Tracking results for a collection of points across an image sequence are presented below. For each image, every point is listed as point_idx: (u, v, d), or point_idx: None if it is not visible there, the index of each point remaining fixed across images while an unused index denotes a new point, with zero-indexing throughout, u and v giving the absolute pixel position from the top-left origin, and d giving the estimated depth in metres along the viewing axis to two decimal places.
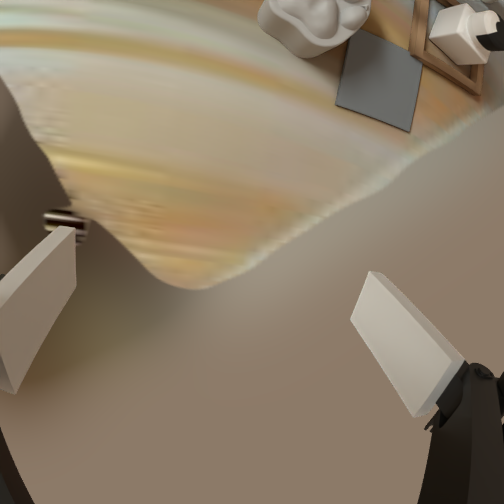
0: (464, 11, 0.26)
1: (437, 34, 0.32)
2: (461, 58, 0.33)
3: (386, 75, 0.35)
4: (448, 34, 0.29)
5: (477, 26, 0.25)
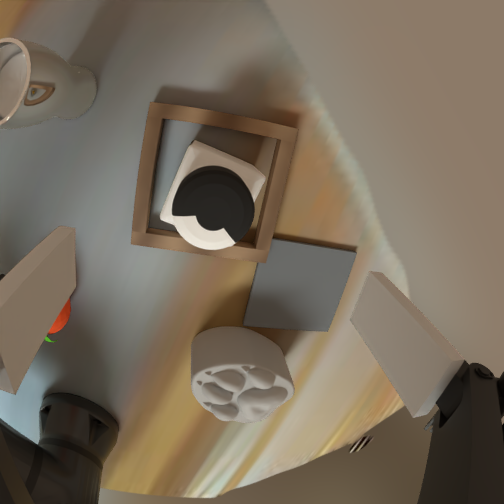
0: None
1: None
2: None
3: (295, 287, 0.39)
4: None
5: None
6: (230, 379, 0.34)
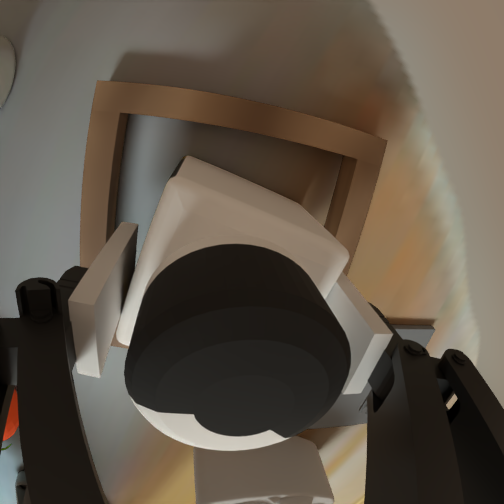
0: None
1: None
2: None
3: None
4: None
5: None
6: None
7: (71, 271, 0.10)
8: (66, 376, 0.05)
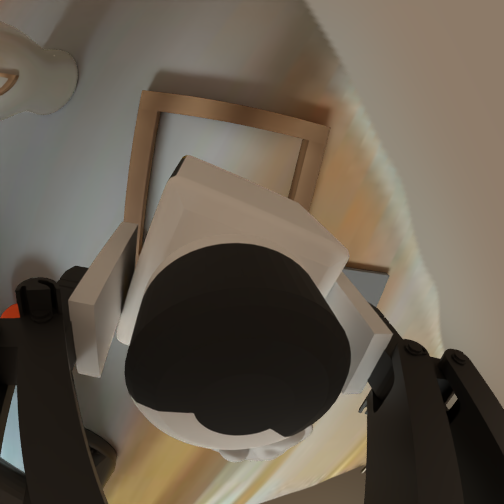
0: None
1: None
2: None
3: None
4: None
5: None
6: None
7: (70, 270, 0.10)
8: (66, 376, 0.05)
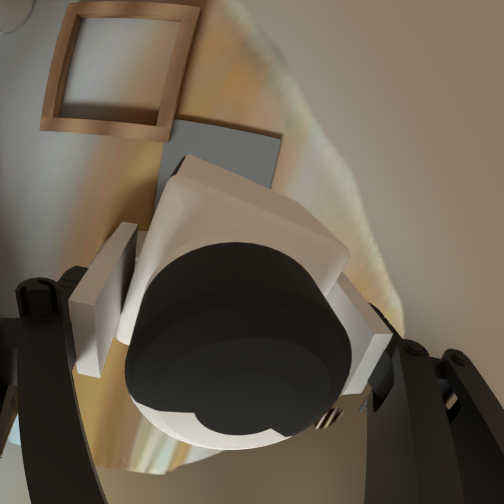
0: None
1: None
2: None
3: None
4: None
5: None
6: None
7: (71, 271, 0.10)
8: (66, 376, 0.05)
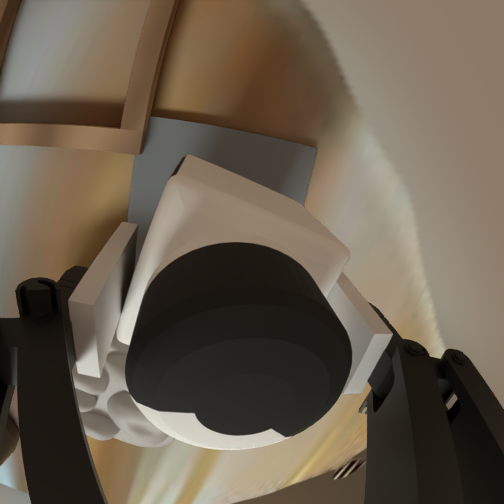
0: None
1: None
2: None
3: None
4: None
5: None
6: (75, 369, 0.16)
7: (70, 270, 0.10)
8: (66, 376, 0.05)
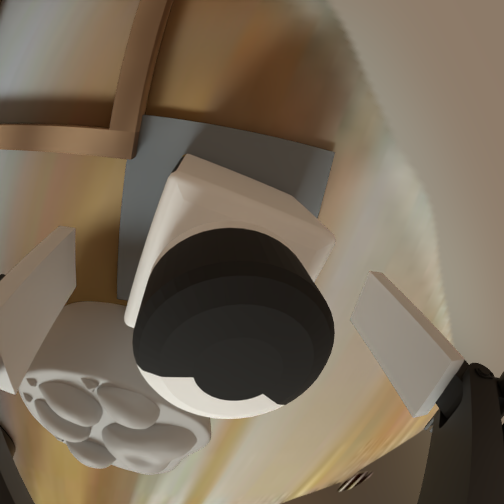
0: None
1: None
2: None
3: None
4: None
5: None
6: (64, 400, 0.14)
7: None
8: None
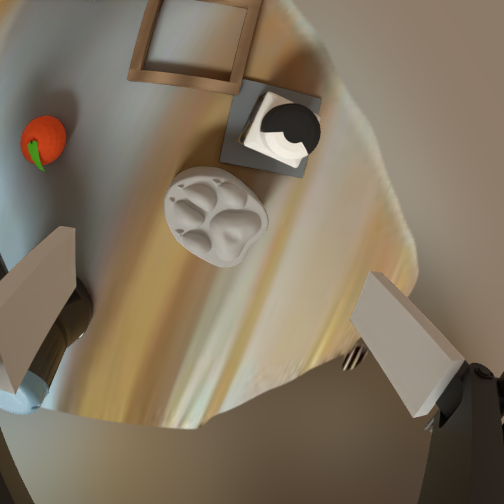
0: (260, 151, 0.36)
1: None
2: None
3: None
4: None
5: None
6: (201, 190, 0.36)
7: None
8: None
